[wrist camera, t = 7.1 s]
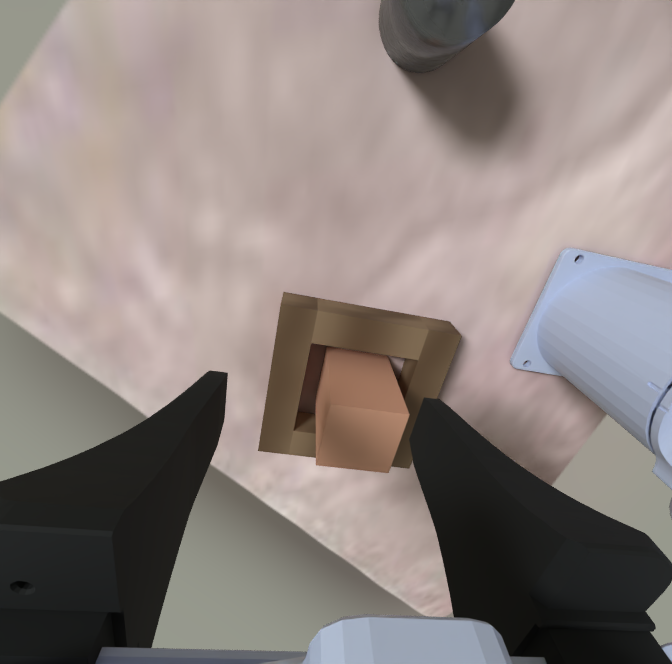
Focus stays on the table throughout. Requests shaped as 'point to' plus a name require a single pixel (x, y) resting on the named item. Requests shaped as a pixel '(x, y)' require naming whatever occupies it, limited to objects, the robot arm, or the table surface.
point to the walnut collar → (356, 334)
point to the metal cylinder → (434, 29)
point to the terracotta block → (358, 411)
